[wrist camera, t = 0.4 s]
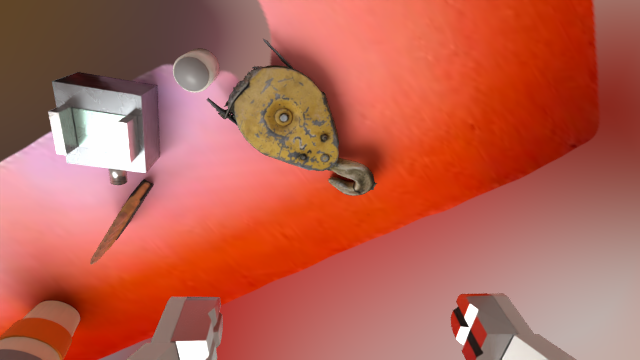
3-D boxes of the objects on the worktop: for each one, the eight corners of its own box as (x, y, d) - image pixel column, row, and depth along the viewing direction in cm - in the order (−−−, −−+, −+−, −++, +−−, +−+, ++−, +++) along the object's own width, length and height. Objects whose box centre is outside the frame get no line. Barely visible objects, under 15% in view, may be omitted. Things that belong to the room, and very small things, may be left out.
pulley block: (340, 229, 58) (199, 108, 46) (333, 213, 63) (205, 101, 52) (400, 173, 56) (269, 31, 44) (388, 162, 61) (267, 32, 49)
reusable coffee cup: (63, 287, 69) (8, 356, 56) (101, 324, 75) (60, 394, 62) (10, 304, 70) (-55, 375, 57) (52, 339, 76) (2, 411, 63)
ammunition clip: (143, 178, 58) (110, 219, 47) (154, 184, 59) (123, 225, 48) (118, 219, 62) (82, 265, 51) (128, 224, 62) (94, 270, 52)
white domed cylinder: (184, 45, 48) (171, 51, 43) (220, 51, 49) (211, 58, 43) (184, 80, 50) (171, 90, 45) (218, 85, 51) (209, 96, 46)
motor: (78, 72, 49) (36, 86, 41) (157, 85, 50) (131, 102, 42) (92, 168, 56) (59, 196, 48) (160, 177, 58) (139, 205, 50)
